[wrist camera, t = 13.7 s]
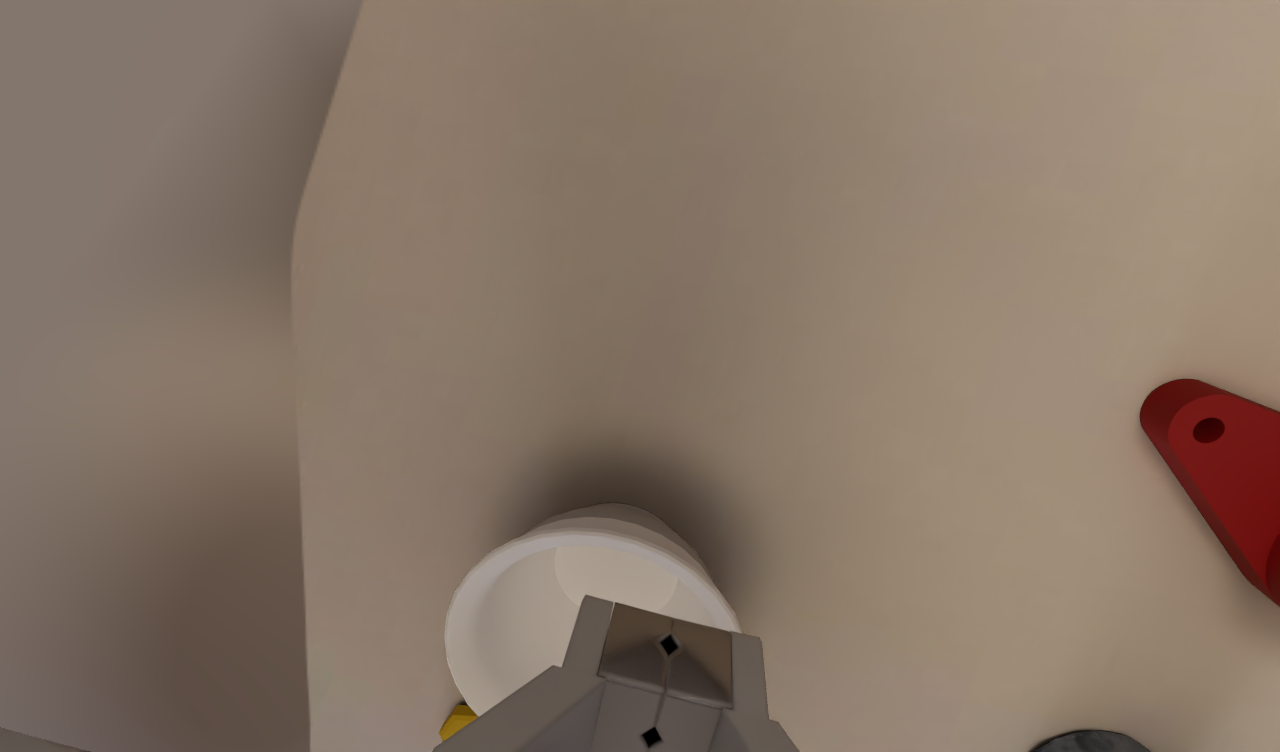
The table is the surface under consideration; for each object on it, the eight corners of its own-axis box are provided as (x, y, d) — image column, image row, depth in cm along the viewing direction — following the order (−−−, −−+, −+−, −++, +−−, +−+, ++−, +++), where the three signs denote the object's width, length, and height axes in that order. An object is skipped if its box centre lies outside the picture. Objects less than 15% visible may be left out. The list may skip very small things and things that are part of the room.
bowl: (476, 454, 39) (413, 533, 31) (737, 444, 37) (742, 527, 29) (518, 659, 44) (473, 772, 36) (749, 662, 42) (755, 784, 34)
